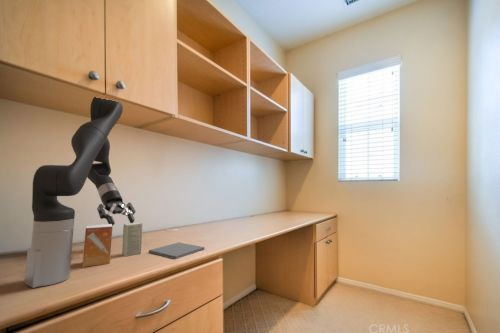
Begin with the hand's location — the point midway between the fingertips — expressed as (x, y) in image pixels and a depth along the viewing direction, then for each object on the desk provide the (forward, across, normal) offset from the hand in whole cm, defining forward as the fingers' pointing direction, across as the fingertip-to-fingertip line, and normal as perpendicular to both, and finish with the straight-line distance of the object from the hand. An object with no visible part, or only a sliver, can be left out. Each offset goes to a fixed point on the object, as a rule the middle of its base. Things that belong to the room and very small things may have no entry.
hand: (123, 223), depth 97 cm
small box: (+13, -13, +4) cm, 19 cm away
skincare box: (+13, 0, +4) cm, 14 cm away
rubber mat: (+22, +13, -5) cm, 26 cm away
